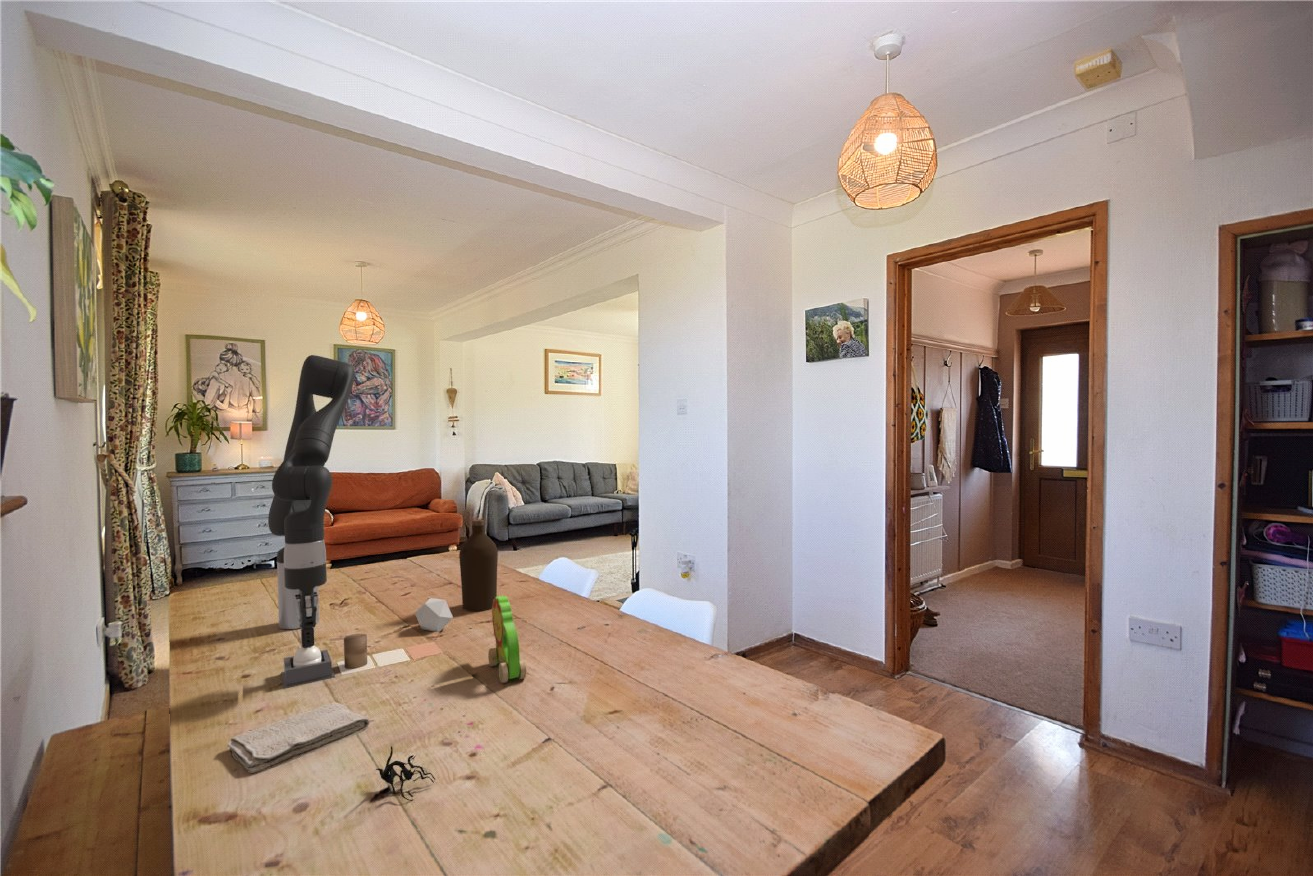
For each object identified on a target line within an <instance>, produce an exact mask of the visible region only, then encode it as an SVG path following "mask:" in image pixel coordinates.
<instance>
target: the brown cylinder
mask: <svg viewBox="0 0 1313 876" xmlns="http://www.w3.org/2000/svg"><path fill="white" fill-rule="evenodd" d="M367 635H368V634H366V633H354V634H350V635H347V636H345V637H344V638H343V652H344V654H343V656H344V657H343V658H344V660H343V661H344V664H345V668H347V669H355V668H360V667H363V666H365V665H366V664H367V656H368V640H367V639H368V637H367Z"/></svg>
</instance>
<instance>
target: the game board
mask: <svg viewBox="0 0 1313 876" xmlns="http://www.w3.org/2000/svg"><path fill="white" fill-rule="evenodd" d="M405 650H406V651H407V652H405ZM405 650H404V649H403V648H397V649H393V650H389V651H382V652H378V653H374V654H371V655H372V657H373V659H374V661H375V663H376V665H377V667H378V668H380V667H385V666H390V665H394V664H400V663H403V662H408V661H411V658H412V659H413V660H417V659H422V658H426V657H430V656H435V655H439V654H443V653H444V651H442V649H441V648H440V647H439V646H438V645H437V644H436V643H435V641H432V642H427V643H420V644H416V645H412V646H407V647H405ZM407 653H408V654H409V655H410V657H409V656H408V654H407ZM371 655H368V654H367V664H366V665H365V666H363V667H360V668H355V669H347V668H345V664H344V660H340V661H337V662H336V663H337V666H338V668H339V671H340V674H341V676H346V675H348V674H353V673H359V672H362V671H367V670H371V669H376V666H375V664H374V662H373V660H372V658H371Z"/></svg>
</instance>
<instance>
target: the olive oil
mask: <svg viewBox="0 0 1313 876" xmlns="http://www.w3.org/2000/svg"><path fill="white" fill-rule="evenodd" d="M471 521H472V525H471V531H472V532H471V533H470V536H468V538H467V539H466V540H465V541H464V542H463V544H462V545H461V547H460V550H459V553H458V554H459V555H458V557H459V566H460V567H459V569H460V578H461V579H460V580H461V581H460V583H461V598H462V599H461V600H462V609H463V610H465V611H468V612H481V611H488V610H490V609H491V610H492V606H493V600H494V599H495V597H498V595H497V591H498V589H497V588H498V556H499V554H498V553H499V552H498V548H497V544H496V543H495V542H494V541H493V540H492V539H491V538H490V536H488V535H487V534H486V532H485V524H484V522H485V520H484V519H482V518H479V519H477V518H476V519H472V520H471Z"/></svg>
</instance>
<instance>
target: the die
mask: <svg viewBox="0 0 1313 876" xmlns="http://www.w3.org/2000/svg"><path fill="white" fill-rule="evenodd" d="M414 615H415V617H416V619H417V622H418V624H419V626H420V629H421V630H425V631H430V632H436V631H437V632H438V633H439V632H441V631H442V630H443V629H444V628H445V627H446V626H447V625H448V624H449V623H450V622H451V621H452V619H454V616H453V614H452V612H451V609H450V607H449V605H448V603H447V601H446V599H441V598H433V597H430V598H428V600H426V601H425V603H423V604H422V605H421V606H420V607H419V608H418V609H417V610H416V611H414Z"/></svg>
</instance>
